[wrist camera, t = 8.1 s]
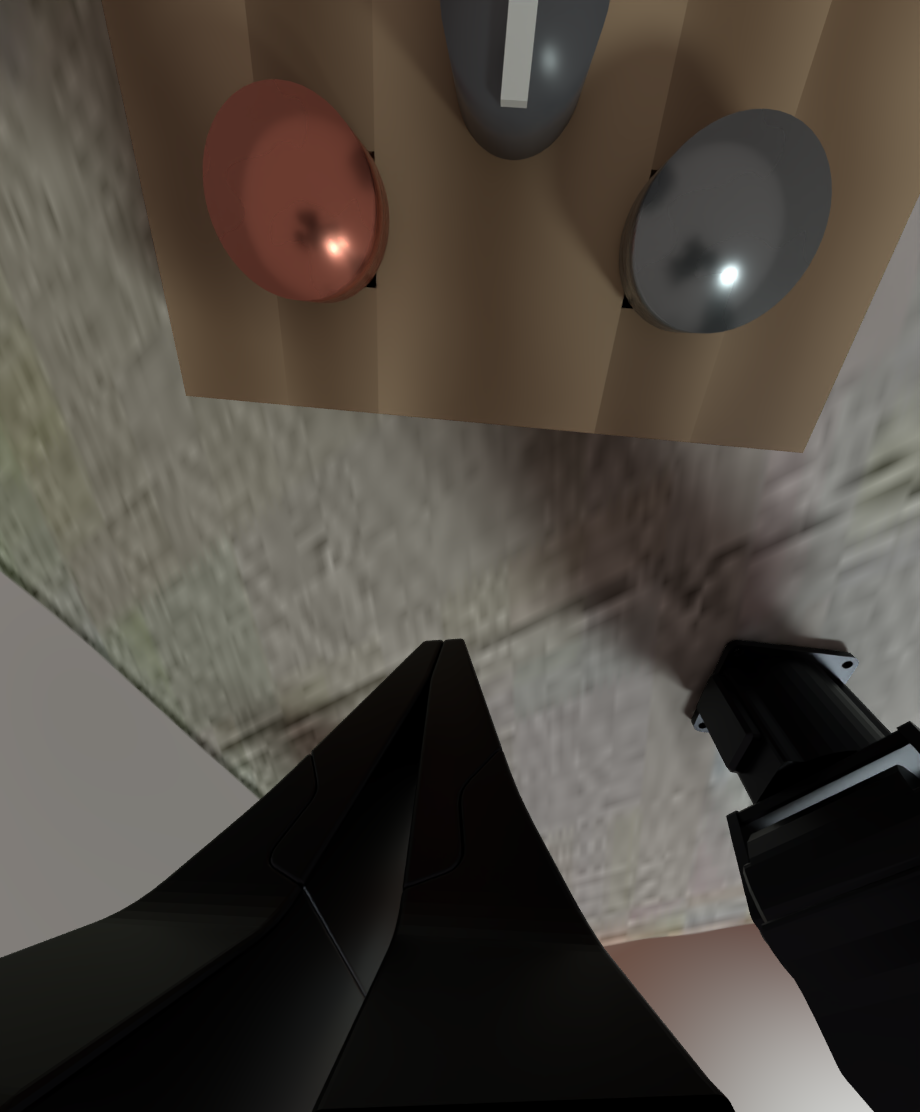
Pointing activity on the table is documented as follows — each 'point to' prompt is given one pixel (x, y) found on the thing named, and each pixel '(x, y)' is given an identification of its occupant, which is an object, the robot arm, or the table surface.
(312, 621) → the table surface
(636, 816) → the table surface
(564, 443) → the table surface
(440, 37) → the mount
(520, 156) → the dial
